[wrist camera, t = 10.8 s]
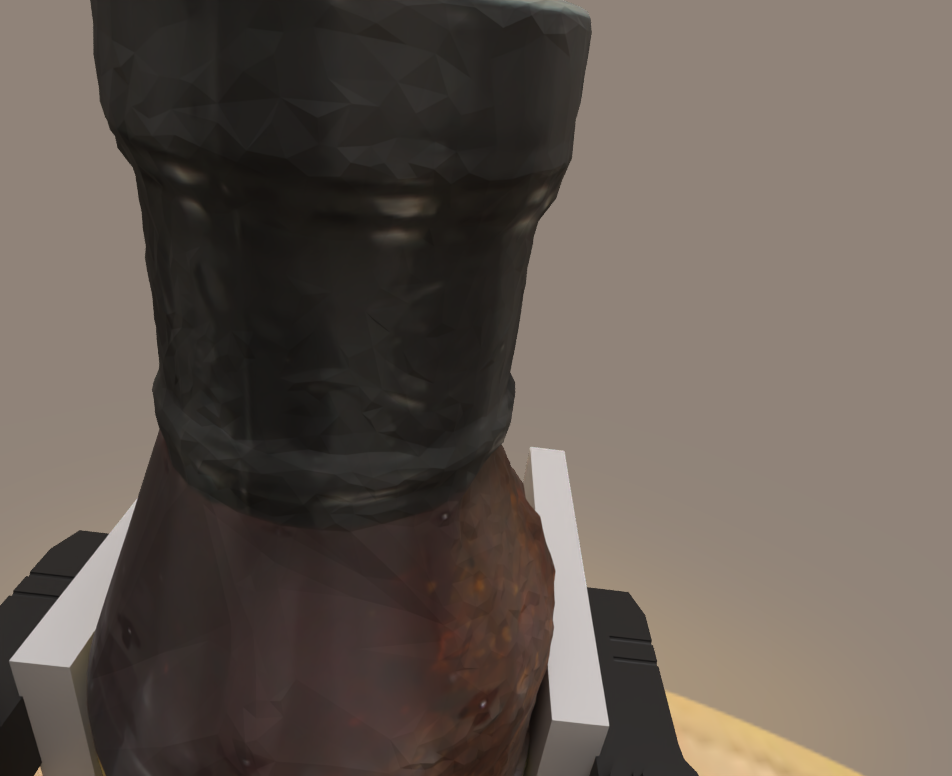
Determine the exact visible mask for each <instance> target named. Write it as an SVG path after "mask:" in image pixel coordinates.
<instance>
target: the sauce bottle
mask: <svg viewBox="0 0 952 776" xmlns="http://www.w3.org/2000/svg"><path fill="white" fill-rule="evenodd" d="M90 1H91V9H92V17H93V37H94V39H93V40H94V43H93V44H94V59H95V66H96V72H97V79H98V85H99V95H100V103H101V106H102V108H103V111H104V115H105V117H106V119H107V121H108V124H109V128H110V130H111V131H112V133H113V134H114V135H115V138H116V143H117V147H118V149H119V150H120V151H121V153H122V154H123V155H124V157H125V158H126V159H127V161H128V162H129V163H130V164H131V166H132V167H133V170H134V172H135V176H136V182H137V189H138V196H139V202H140V206H141V211H142V221H143V232H144V237H145V243H146V253H145V260H146V266H147V272H148V277H149V282H150V287H151V291H152V298H153V309H154V320H155V324H156V333H157V334H156V335H157V346H158V354H159V370H158V373H157V375H156V377H155V380H154V383H153V388H152V392H153V397H154V405H155V414H156V418H157V422H158V425H159V428H160V429H159V433H158V436H157V439H156V442H155V445H154V448H153V452H152V455H151V458H150V461H149V464H148V467H147V470H146V473H145V477H144V480H143V483H142V486H141V489H140V492H139V496H138V499H137V502H136V505H135V508H134V511H133V514H132V518H131V521H130V524H129V527H128V530H127V533H126V536H125V539H124V542H123V545H122V548H121V552H120V555H119V558H118V561H117V564H116V567H115V570H114V573H113V576H112V579H111V582H110V585H109V588H108V591H107V595H106V598H105V601H104V604H103V607H102V610H101V614H100V617H99V620H98V623H97V626H96V629H95V633H94V636H93V640H92V645H91V649H90V653H89V661H88V671H87V709H88V717H89V722H90V727H91V731H92V736H93V741H94V745H95V750H96V754H97V757H98V761H99V764H100V768H101V772H102V776H523V774H524V771H525V767H526V764H527V758H528V751H529V743H530V727H529V721H530V718H531V713H532V711H533V708H534V705H535V702H536V695H537V692H538V689H539V686H540V684H541V682H542V679H543V677H544V675H545V672H546V669H547V665H548V660H549V655H550V646H551V641H552V638H553V631H554V624H553V613H554V606H555V596H554V580H555V572H556V570H555V567H554V563H553V560H552V557H551V554H550V551H549V549H548V546H547V543H546V540H545V536H544V531H543V527H542V522H541V517H540V515H539V514H538V513H537V512H536V511H535V510H534V509H533V508H532V506H531V505H530V504H529V502H528V501H527V500H526V496H525V489H524V484H523V483H522V481H521V480H520V479H519V477H518V475H517V474H516V472H515V470H514V469H513V468H512V467H511V465H510V462H509V460H508V458H507V456H506V453H505V450H504V448H503V446H502V445H501V444H502V443H503V442H504V438H505V436H506V433H507V431H508V428H509V425H510V422H511V417H512V411H513V404H514V397H515V381H514V379H513V377H512V375H511V373H510V369H511V365H512V359H513V355H514V350H515V344H516V339H517V333H518V327H519V321H520V314H521V307H522V301H523V293H524V289H525V285H526V274H527V267H528V263H529V258H530V254H531V249H532V245H533V237H534V234H535V231H536V227H537V224H538V221H539V220H540V218H541V217H542V216H543V215H544V213H545V212H546V211H547V209H548V208H549V207H550V206H551V204H552V203H553V202H554V200H555V199H556V197H557V194H558V191H559V188H560V185H561V182H562V179H563V177H564V175H565V172H566V170H567V168H568V165H569V163H570V161H571V159H572V151H573V141H574V131H575V121H576V117H577V113H578V110H579V106H580V103H581V97H582V90H583V83H584V75H585V70H586V65H587V59H588V53H589V46H590V39H591V33H592V31H591V20H590V17H589V14H588V12H587V11H586V10H584V9H583V8H582V7H579V6H577V5H575V4H572V3H569V2H567V1H563V0H90Z"/></svg>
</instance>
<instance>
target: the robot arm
mask: <svg viewBox="0 0 952 776" xmlns="http://www.w3.org/2000/svg"><path fill="white" fill-rule="evenodd" d="M523 484H524V489H525V496H526V500H527V501H528V502H529V504H530V505H531V506H532V508H533V509H534V510H535V511H536V512H537V513H538V514H539V515H540V517H541V522H542V527H543V531H544V536H545V540H546V543H547V546H548V549H549V551H550V554H551V557H552V560H553V563H554V567H555V570H556V572H555V580H554V596H555V606H554V613H553V624H554V631H553V638H552V641H551V646H550V655H549V660H548V665H547V669H546V672H545V675H544V677H543V679H542V682H541V684H540V686H539V689H538V692H537V695H536V702H535V705H534V708H533V711H532V713H531V718H530V721H529V727H530V743H529V751H528V758H527V764H526V767H525V771H524V774H523V776H699V775H698V774H697V772H696V771H695V770H694V769H693V768H692V767H691V766H690V765H689V764H688V763H687V762H686V761H685V759H684V758H683V755H682V752H681V750H680V747H679V744H678V741H677V737H676V733H675V729H674V725H673V721H672V717H671V714H670V710H669V706H668V702H667V698H666V694H665V690H664V687H663V683H662V679H661V675H660V671H659V667H658V666H657V659H656V655H655V651H654V648H653V645H651V641H652V640H651V636H650V632H649V628H648V624H647V621H646V617H645V614H644V613H643V612H642V610H641V609H640V607H639V606H638V605H637V603H636V602H635V601H634V599H633V598H632V596H631V595H630V594H629V593H628V592H622V591H614V590H605V589H597V588H588V587H587V586H586V580H585V574H584V568H583V562H582V556H581V550H580V543H579V538H578V531H577V525H576V519H575V513H574V507H573V501H572V494H571V489H570V482H569V476H568V470H567V464H566V458H565V452H564V451H561V450H552V449H544V448H536V447H530V450H529V455H528V460H527V465H526V471H525V476H524V481H523ZM137 499H138V498H137ZM137 499H136V501H135V502H134V503H133V504H132V506H131V507H130V509H129V510H128V511H127V512H126V513H125V515H124V516H123V517H122V518H121V520H120V521H119V522H118V524H117V525H116V526H115V527H114V529H113V530H112V531H111V533H110V534H107V533H98V532H89V531H81V530H80V531H78V532H76V533H75V534H74V535H72V536H70V537H68V538H67V539H65V540H64V541H62V542H61V543H59V544H58V545H56V546H54V547H53V548H51V549H50V550H49V551H48V552H47V553H46V555H45V556H44V557H43V558H42V559H41V560H40V562H38V563H37V565H36V566H35V567H34V568H33V569H32V570H31V572H30V575H29V577H28V576H26V577H25V578H24V579H23V581H22V582H21V583H20V584H19V585H18V586H17V587H16V588H15V590H14V591H13V595H12V596H8V597H7V599H6V600H5V601H4V602H3V603H2V604H1V605H0V776H34V775H35V773H36V771H37V770H38V768H39V767H41V770H42V774H43V776H102V772H101V768H100V764H99V761H98V757H97V754H96V750H95V745H94V741H93V736H92V731H91V727H90V722H89V717H88V709H87V671H88V661H89V653H90V649H91V645H92V640H93V636H94V633H95V629H96V626H97V623H98V620H99V617H100V614H101V610H102V607H103V604H104V601H105V598H106V595H107V591H108V588H109V585H110V582H111V579H112V576H113V573H114V570H115V567H116V564H117V561H118V558H119V555H120V552H121V548H122V545H123V542H124V539H125V536H126V533H127V530H128V527H129V524H130V521H131V518H132V514H133V511H134V508H135V505H136V502H137Z"/></svg>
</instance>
